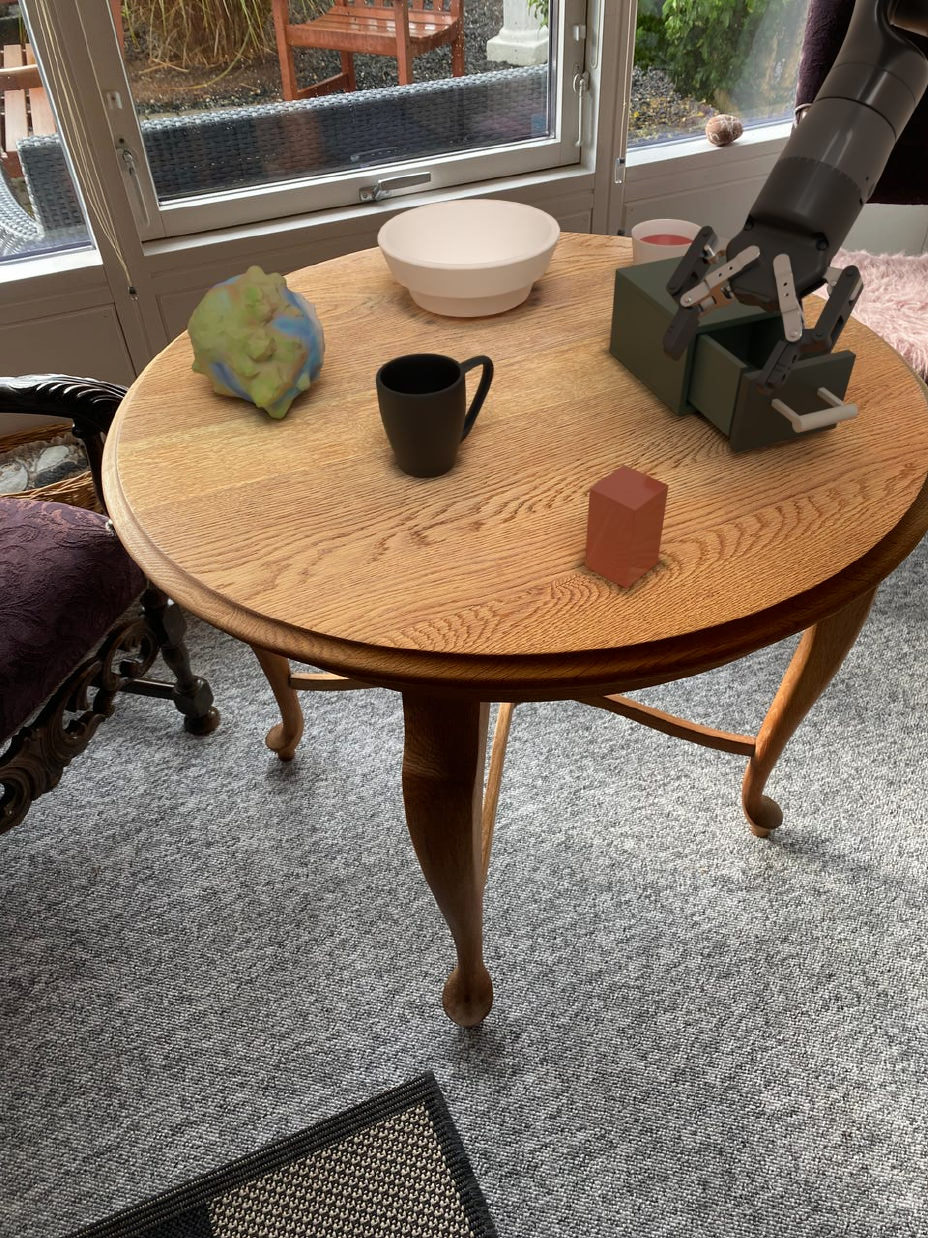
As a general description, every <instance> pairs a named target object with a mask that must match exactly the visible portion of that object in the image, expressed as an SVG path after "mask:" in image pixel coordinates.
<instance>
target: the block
mask: <svg viewBox="0 0 928 1238" xmlns="http://www.w3.org/2000/svg"><path fill="white" fill-rule="evenodd" d="M588 493H589V494H588V495H589V496H588V507H587V523H586V537H585V553H584V564H583V565H584V567H585V568H587V569H589V570H591V571H593V572H595V573H596V574H598V575H600V576H602V577H603V578H606V579H607V580H609V581H611V582H613V583H615V584H617V585H618V586H620V587H622V588H624V589H628V588H629V587H630V586H631V585H633V584H634V583H635V582H636V581H638V580H639V579H640V578H641V577H642V576H644V575H645V574H646V573H648V572H649V571H650V570H652V568H654V567H655V566H656V565H658V562H659V557H660V556H659V555H660V548H661V542H662V534H663V528H664V521H665V515H666V514H665V513H666V507H667V499H668V493H669V484H667V483H665V482H662V481H661V480H659V479H656V478H654V477H652V476H649V475H648V474H645V473H644V472H641V471H638V470H636V469H634V468H632V467H630V466H628V465H625V464H622V465H621V466H619V467H618V468H617V469H615V470H614V471H612V472H611V473H609V474H608V475H606V476H605V477H604V478H603V479H601V480H599V481H598V482H597V483H595V484H594V485H592V486H591V487H590V488H589V492H588Z"/></svg>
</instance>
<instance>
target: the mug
mask: <svg viewBox="0 0 928 1238" xmlns="http://www.w3.org/2000/svg"><path fill="white" fill-rule="evenodd" d="M479 366H482V372H481V377H480V381H479V383H478V385H477V388H476V391H475V394H474V396H473V399H472V400H471V403H470V406H469V407H468V409H467V387H466V386H467V385H466V374H468V373H469V372H470V371H471V370H473V369H475V368H477V367H479ZM494 373H495V367H494V363H493V359H491V358H490V357H489V356H488V355H485V354H480V355H475V356H472V357H469V358H468V359H466V360H463V361H461V362H459V361H458V360H456V359H455V358H452V357H450V356H447V355H445V354H440V353H439V354H438V353H431V352H430V353H428V352H423V353H421V352H419V353H412V354H411V353H410V354H406V355H402V356H398V357H396V358H393V359H391V360H389V361H387V362H386V363H384V364H383V365H381V367H380V368H379V369H378V370H377V372H376V374H375V387H376V395H377V403H378V410H379V415H380V418H381V423H382V425H383V428H384V432H385V434H386V437H387V440H388V442H389V445H390V447H391V449H392V452H393V455H394V456H395V457H396V460H397V462H398V465H399V468H400V469H401V470H402V472H404V473H405V474H407V475H409V476H411V477H416V478H423V479H425V478H427V479H428V478H434V477H439V476H442V475H444V474H446V473H448V472H450V471H451V470H452V469H453V468H454V466H455V463H456V461H457V456H458V452H459V448H460V446H461V444H462V443H464V442H465V441H466V439H467V438H468V436H469V434H470V433H471V431H472V429H473V428H474V425H475V423H476V420H477V418H478V416H479V414H480V412H481V410H482V409H483V408H482V407H483V405H484V403H485V400H486V398H487V396H488V393H489V391H490V390H491V386H492V383H493V379H494Z"/></svg>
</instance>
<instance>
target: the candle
mask: <svg viewBox="0 0 928 1238" xmlns="http://www.w3.org/2000/svg"><path fill="white" fill-rule="evenodd" d="M701 228H702V227H701V226H699V224H696V223H694V222H691V221H688V220H684V219H683V220H682V219H675V218H658V219H651V220H646V221H642V222H640V223H638V224H636V225H635V226H633V227H632V229H631V231H630V232H631V233H630V234H631V243H632V245H631V246H632V259H633V266H634V265H639V264H644V263H649V262H655V261H660V260H665V259H670V258H675V257H680V256H684V255H685V254H686V252H687V250H688V249H689V247H690V245H691V244H692V242H693V240H694V239H695V237H696V235H697V234H698V232H699V231H700V229H701Z"/></svg>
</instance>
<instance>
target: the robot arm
mask: <svg viewBox="0 0 928 1238" xmlns="http://www.w3.org/2000/svg"><path fill="white" fill-rule="evenodd" d="M851 15H852V16H851V19H850V21H849V22H850V23H849V26H848V29H847V32H846V35H845V37H844V40H843V42H842V45H841V48H840V50H839V53H838V54H837V57H836V59H835V61H834V63H833V65H832V67H831V68H830V71H829V73H828V74H827V76H826V78H825V79H824V82H823V83H822V85H821V87H820V89H819V91H818V92H817V94H816V96H815V98H814V100H813V101H812V103H811V105H810V107H809V109H808V111H807V112H806V114H804V116H803V118H802V119H801V120H800V121H799V124H798V125H797V126H796V127H795V129H794V130H793V132H792V134H791V135H790V137H789V139H788V141H786V144H785V145H784V148H783V149H782V151H781V153H780V155H779V156H778V158H777V160H776V162H775V164H774V166H773V168H772V169H771V170H770V173H769V174H768V176H767V179H766V180H765V182H764V184H763V186H762V188H761V189H760V192H759V194H758V195H757V197H756V199H755V200H754V202H753V204H752V205H751V208H750V210H749V212H748V214H747V216H746V220H745V221H744V225H743V227H742V228H741V230H740V231H739V232H738V233H737V234H736V235H735V236H733V237H732V238H728V237H725V236H722V235H720V234H716V233H715V230H714V229H713V227H712V226H710V225H704V226H702V227H701V229H700V231H699V232H698V234H697V235H696V237H695V239H694V240H693V242H692V244H691V245H690V247H689V249H688V250H687V252H686V254H685V255H684V257H683V259H682V260H681V262H680V264H679V265H678V267H677V268H676V270H675V272H674V273H673V275H672V277H671V278H670V280H669V282H668V283H667V285H666V290H667V292H668V293H669V294H670V296H671V297H672V299H673V300H674V301H675V303H676V304H677V305H678V306H679V308H678V311H677V313H676V315H675V316H674V318H673V320H672V322H671V324H670V326H669V327H668V329H667V331H666V333H665V335H664V337H663V341H662V344H663V345H664V349H663V351H664V353H665V354H666V355H667V357H668V358H669V359H672V360H674V361H678V360H679V359H680V358H681V356H682V354H683V353H684V351H685V349H686V347H687V345H688V343H689V342H690V340H691V338H692V336H693V334H694V332H695V331H696V329H697V327H698V325H699V323H700V322H699V320H698V319H699V318H700V317H702V316H704V315H705V314H707V313H709V312H710V311H712V310H713V309H715V308H717V307H724V306H726V305H728V304H729V303H731V302H733V301H734V300H736V299H738V301H739V302H740V303H741V304H744V305H747V306H759V307H760V308H762V309H763V310H765V311H766V312H770V313H773V314H775V312H776V311H781V313H782V317H783V323H784V329H785V336H786V337H785V339H784V341H781V340H779V341H778V343H777V344H776V346H775V348H774V350H773V352H772V353H771V355H770V357H769V359H768V360H767V362H766V364H765V366H764V368H763V369H762V371H761V373H760V375H759V376H758V378H757V380H756V384H755V386H756V388H757V389H758V391H759V392H760V393H762V394H765V395H768V396H769V395H770V394H771V393H772V391H773V389H774V390H777V391H778V390H779V389H780V388H781V387H782V386H783V385H784V383H785V381H786V380H787V378H788V376H789V374H790V373H791V371H792V369H793V367H794V366H795V364H796V362H797V360H798V359H799V357H800V356H801V355H802V354H803V353H805V352H810V351H819V352H820V353H822V354H827V353H830V352H831V353H832V351H833V350H834V348H835V346H836V344H837V342H838V340H839V339H840V336H841V335H842V333H843V330H844V329H845V326H846V325H847V322H848V321H849V318H850V316H851V314H852V313H853V310H854V308H855V307H856V304H857V302H858V300H859V299H860V297H861V294H862V293H863V290H864V289H865V286H864V285H865V284H864V282H863V277H862V274H861V271H860V269H859V267H858V266H857V265H855V264H849V265H847V266H845V267H844V268H839V267H836V266H835V267H834V266H831V264H832V262H833V259H834V258H835V257H836V256H837V255H838V253H839V251H840V249H841V247H842V245H843V243H844V242H845V240H846V238H847V237H848V235H849V233H850V231H851V229H852V228H853V227H854V224H855V223H856V221H857V219H858V217H859V215H860V214H861V212H862V210H863V208H864V207H865V205H866V203H867V201H868V200H869V199H870V198H871V197H872V195H873V193H874V191H875V189H876V187H877V183H878V182H879V180H880V178H881V176H882V174H883V172H884V169H885V167H886V165H887V163H888V160H889V158H890V155H891V153H892V151H893V149H894V146H895V144H896V143H897V142H898V139H899V138H900V136H901V134H902V133H903V131H904V129H905V127H906V125H907V124H908V122H909V120H910V118H911V116H912V114H913V113H914V111H915V109H916V108H917V107H918V104H919V102H920V100H921V99H922V97H923V95H924V94H925V91H926V89H927V86H928V59H927V58H926V56H925V54H924V53H923V52H922V51H921V50H920V49H919V47H918V46H916V45H915V44H914V43H913V42H912V41H911V40H909V39H908V38H907V37H906V36H904V35H902V34H901V33H900V32H899V31H897V29H896V28H895V27H898V28H901V29H904V30H906V31H909V32H913V33H914V34H919V35H921V36H923V37H926V38H928V0H855V5H854V8H853V12H852V14H851ZM892 25H893V26H892ZM894 26H895V27H894ZM725 255H726V262H727V263H726V264H725V265H723V266H721V267H720V268H718V269H717V270H715V271H714V272H712V273H710V274H709V275H707V276H706V277H705V279H704V281H703V282H702V283H701V284H699V283H700V282H701V280H702V279H703V277H704V275H705V274H706V272H707V270H708V269H709V267H710V265H711V264H716V263H717V262H718V260H719V259H720V258H721V257H722V256H725ZM728 281H729V286H727V287H724V288H721V287H722V286H723V285H724V284H725V283H727V282H728ZM826 284H827V285H826ZM824 285H826V292H827V295H828V299H827V301H826V303H825V305H824V307H823V308H822V310H821V313H820V315H819V316H818V319H817V321H816V323H815V325H814V327H813V328H807V326H806V325H807V320H806V313H805V308H804V301H803V299H804V298H806V297H808V296H809V295H811V294H812V293H814V292H816V291H817V290H819V289H821V288H822V287H824Z"/></svg>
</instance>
